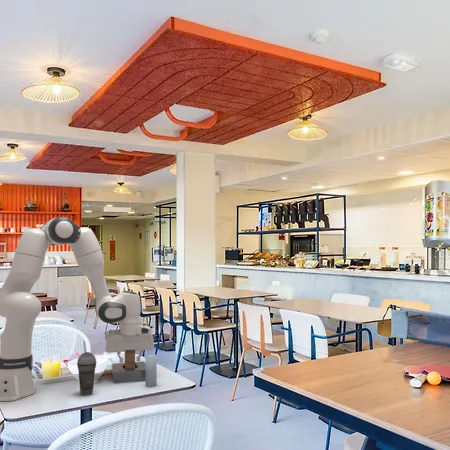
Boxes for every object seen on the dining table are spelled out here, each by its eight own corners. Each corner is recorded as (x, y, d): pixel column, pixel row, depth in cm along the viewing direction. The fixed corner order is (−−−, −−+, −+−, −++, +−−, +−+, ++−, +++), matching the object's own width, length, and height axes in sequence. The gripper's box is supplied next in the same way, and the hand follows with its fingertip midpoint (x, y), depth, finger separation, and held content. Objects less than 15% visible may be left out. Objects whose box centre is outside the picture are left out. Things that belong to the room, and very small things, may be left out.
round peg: (146, 387, 191) (146, 357, 191) (144, 384, 195) (144, 354, 195) (157, 386, 192) (157, 356, 193) (155, 383, 196) (155, 353, 197)
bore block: (114, 383, 196) (114, 372, 196) (112, 374, 210) (112, 363, 210) (148, 380, 200) (148, 369, 201) (144, 371, 214) (144, 361, 214)
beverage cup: (90, 397, 179) (91, 343, 180) (72, 396, 181) (73, 342, 181) (99, 391, 186) (100, 339, 187) (82, 389, 188) (82, 338, 188)
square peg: (124, 376, 206) (124, 348, 207) (134, 375, 207) (134, 347, 208) (125, 379, 202) (125, 350, 203) (134, 378, 204) (135, 349, 204)
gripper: (105, 331, 200) (105, 365, 199) (154, 329, 205) (154, 361, 205) (104, 329, 206) (104, 361, 205) (152, 326, 212) (152, 358, 211)
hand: (129, 361), depth 205 cm, fingers open, 6 cm apart
